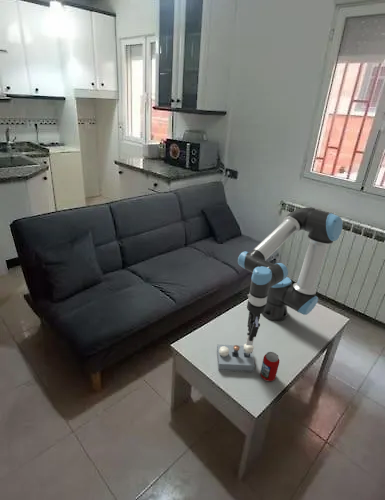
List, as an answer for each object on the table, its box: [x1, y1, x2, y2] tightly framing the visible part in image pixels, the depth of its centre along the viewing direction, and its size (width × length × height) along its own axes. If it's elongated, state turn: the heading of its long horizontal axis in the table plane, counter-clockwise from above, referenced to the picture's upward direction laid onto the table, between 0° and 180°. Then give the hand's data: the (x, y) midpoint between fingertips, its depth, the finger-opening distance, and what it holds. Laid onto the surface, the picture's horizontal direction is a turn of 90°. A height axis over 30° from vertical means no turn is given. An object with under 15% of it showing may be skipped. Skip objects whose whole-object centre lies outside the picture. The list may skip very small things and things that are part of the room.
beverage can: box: [260, 351, 280, 382], centre depth 135 cm, size 7×7×12 cm
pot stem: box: [233, 344, 240, 355], centre depth 142 cm, size 3×3×4 cm
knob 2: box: [243, 343, 255, 356], centre depth 142 cm, size 4×4×5 cm
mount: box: [216, 344, 256, 373], centre depth 144 cm, size 16×12×4 cm
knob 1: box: [219, 346, 229, 357], centre depth 143 cm, size 4×4×5 cm
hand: (249, 344), depth 140 cm, fingers closed
